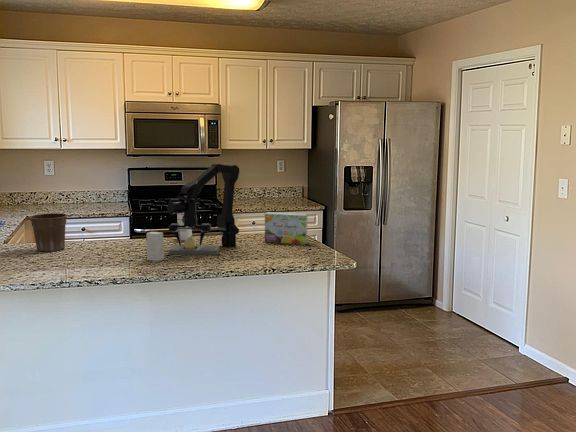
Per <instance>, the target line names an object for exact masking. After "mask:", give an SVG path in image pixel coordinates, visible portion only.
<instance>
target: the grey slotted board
mask: <svg viewBox="0 0 576 432" xmlns="http://www.w3.org/2000/svg"><path fill="white" fill-rule="evenodd" d="M220 248H221V247H220V244H219V245H216V244H215V245H210V244H209V245H208V244H207V245H203V244H201V246H200V244H199V245H197V244H196V249H185V244H184V245H182V244H181V246H180V245H179V244H178V245H171V247H170V249H169V250H168V255H173V256H174V255H190V256H191V255H193V256H194V255H199V256H200V255H201V256H202V255H203V256H207V255H214V256H216V255H217V256H218V254H219V253H220V250H221V249H220Z"/></svg>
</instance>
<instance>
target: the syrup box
mask: <svg viewBox="0 0 576 432" xmlns="http://www.w3.org/2000/svg"><path fill="white" fill-rule="evenodd" d="M176 215H177V216H176V217H177V223H179V225H184V223H183V222H182V217H183V216H184V212H183V213H179V214H176ZM186 227H188V226H186ZM179 230H180V237H181V241H185V240H186V239H187V238H188V237H193V229H179Z"/></svg>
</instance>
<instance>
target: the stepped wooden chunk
mask: <svg viewBox="0 0 576 432" xmlns="http://www.w3.org/2000/svg"><path fill="white" fill-rule="evenodd" d="M184 245H185V249H196V245H197V238H195V237H194V236H192V237H188V238H187V239H186V240H184Z"/></svg>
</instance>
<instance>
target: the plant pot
mask: <svg viewBox="0 0 576 432" xmlns="http://www.w3.org/2000/svg"><path fill="white" fill-rule="evenodd" d="M67 217H68V214H66V213H61V212H59V213H58V212H57V213H55V212H52V213H38V214H34V215H30V216H29V219H30V222H31V227H32V229H33V234H34V240H35V247H36V251H37V252H39V253H40V252H43V253H54V252H59V251H61V250H64V249H65V248H66V246H65V245H66V243H65V242H66V224H67Z"/></svg>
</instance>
